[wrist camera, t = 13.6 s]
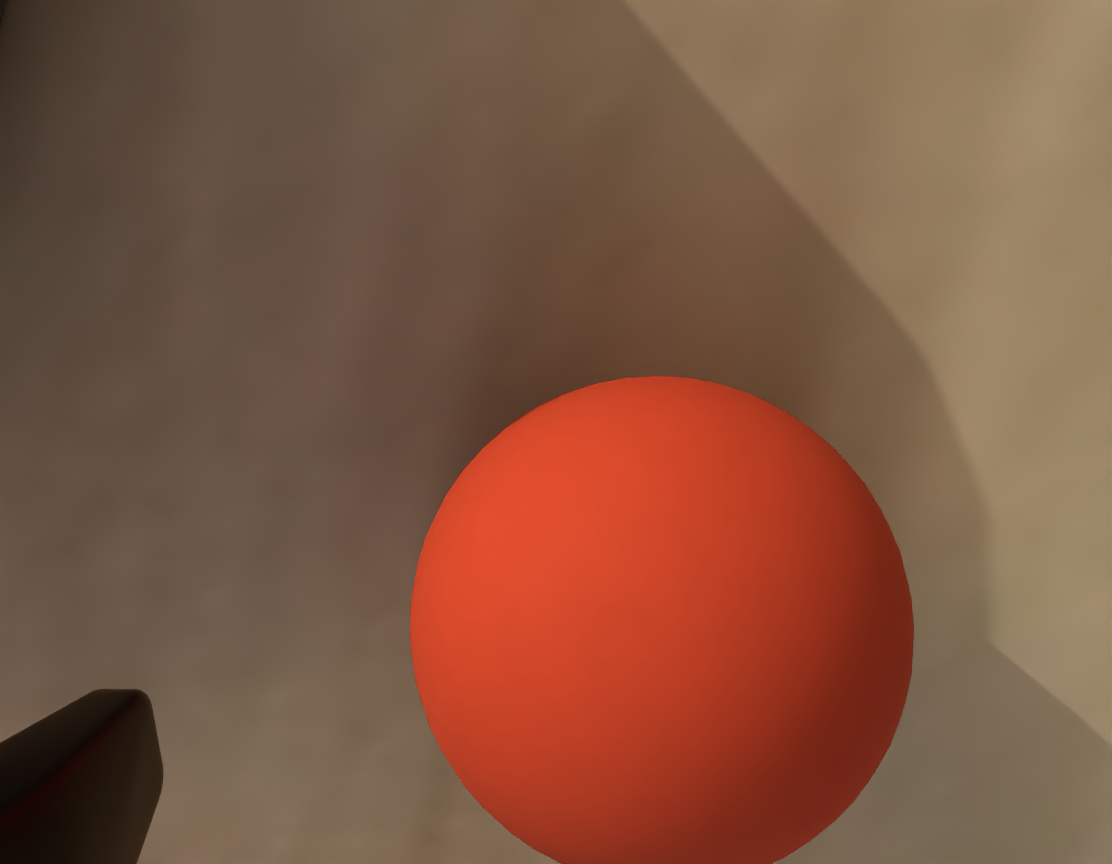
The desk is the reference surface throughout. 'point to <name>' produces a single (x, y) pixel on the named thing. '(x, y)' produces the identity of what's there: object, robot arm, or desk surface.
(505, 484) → the ball
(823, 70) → the desk surface
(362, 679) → the desk surface
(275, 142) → the desk surface
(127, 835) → the robot arm
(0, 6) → the black round open container
